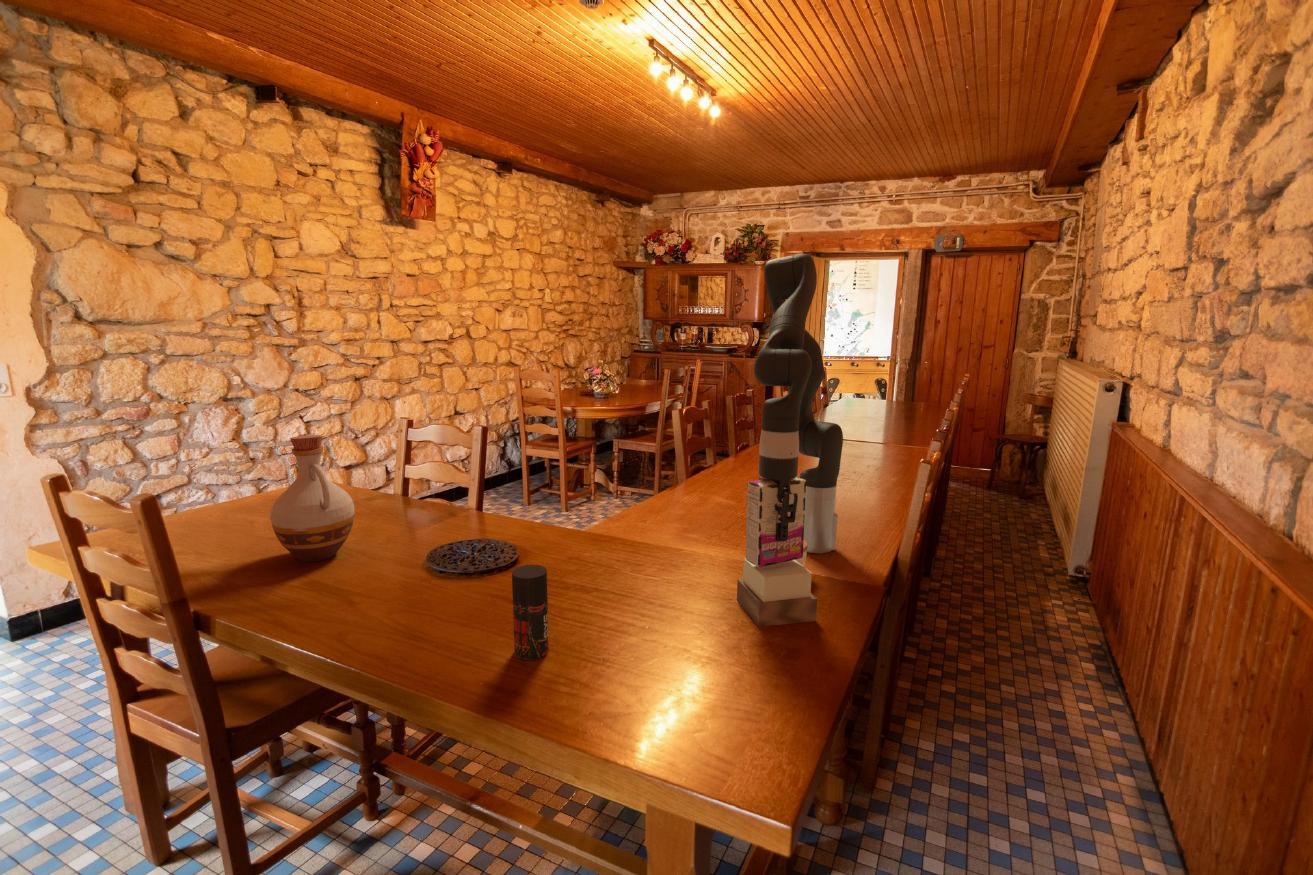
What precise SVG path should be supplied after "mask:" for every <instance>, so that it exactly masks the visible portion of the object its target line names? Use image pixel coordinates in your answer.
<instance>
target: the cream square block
mask: <svg viewBox="0 0 1313 875" xmlns="http://www.w3.org/2000/svg"><path fill="white" fill-rule="evenodd" d="M812 575H813V572H812V571H810V570H809V569H808V568H807V567H805V565H804V566H802V565H801V564H800V563H799V562H797V561H796V560H791V561H787V562H782V563H778V564H773V565H769V566H764V567H758V566H756V565H754V564H752V563H751V562H749V561H747V560H746V557H743V570H742V579H743V582H744V583H745V584H746V585H747V586H748V587H749V588H750V589H751V590H752V591H753V592H754V593H755V594H756V595H757V596H758V597H759V598H760V599H761V600H762V601H763V602H769V601H777V600H786V599H795V598H804V597H810V594H812V592H811V589H812V577H813V576H812Z"/></svg>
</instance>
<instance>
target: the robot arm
mask: <svg viewBox="0 0 1313 875" xmlns="http://www.w3.org/2000/svg"><path fill="white" fill-rule="evenodd" d="M763 268H764V269H763V277H764V278H763V279H764V283H765V288H766V293H767V296H768V299H769V303H770V307H771V311H772V318H771V320H770V323H769V329H768V337H767V339H766V341H765V342H764V344H763V346H762V347H761V348H760V350H759V352H758V354H757V355H756V358H755V360H754V364H753V374H754V377H755V379H756V381H757V382H758V383H759V384H760V385H763V386H767V387H787V389H788V394H786V395H784V396H779V397H774V398H769V399H768V398H767V399H766V400H764V402H763V404H762V410H761V411H762V412H761V431H760V438H759V447H758V449H759V450H758V473H757V474H758V476H760V477H758V479H757V480H762V479H770V480H772V481H774V482H775V483H777V484H778V495H777V498H778V501H779V502H780V503H782V507H779V506H777V503H776V504H775V505H774V510H775V511H776V521H777V522H776V540H777V541H778V542H782V541H787V539H788V523H792V522H795V515H796V508H797V500H798V495H797V493H791V489H790V481H791V480H792V479H795V478H796V477H798V474H799V473H798V472H799V455H803V456H808V457H811V458H812V457H813V458H817V459H818V464H817V466H816V467H812V468H807V469H804V470H801V472H800V474H799V478H801V479H804V480H806V493H805V515H804V540H805V541H806V542H807V543H808V548H807V553H810V554H827V553H830V552H832V551H836V549H837V534H838V533H837V532H838V523H839V519H838V518H839V516H838V513H836V499H837V485H838V477H839V474H840V471H841V470H840V469H841V462H842V461H841V460H842V454H843V453H842V452H843V444H844V434H843V430H842V427H841V426H840V425H839V424H838V423H834V422H828V421H823V420H822V421H821V420H815V417H814V413H813V402H814V399H815V397H816V394H817V393H818V391H819V389H820V387H821V385H822V383H823V380H824V377H825V366H824V359H823V355H822V353H823V352H822V349H821V346H820V344H819V343H818V342H817V340H816V339H815V337H814V336H813V335H811V333H810V332H809V331H808V330H807V329H806V322H807V317H808V314H809V312H810V309H811V306H812V303H813V300H814V297H815V293H816V291H817V290H816V289H817V284H818V283H817V282H818V281H817V280H818V277H817V276H818V275H817V274H818V273H817V267H816V265H815V261H814V258H813V256H811V255H810V254H808V253H798V254H793V255H788V256H783V257H778V258H774V259H773V258H772V259H770V260H767V261H766V263H765V264H764V267H763ZM780 511H781V515H780ZM790 512H791V514H790Z"/></svg>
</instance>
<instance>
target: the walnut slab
mask: <svg viewBox="0 0 1313 875" xmlns="http://www.w3.org/2000/svg"><path fill="white" fill-rule="evenodd" d="M736 582H737V587H736V600H737V602H738V603H739V604H740V606H741V607H742V608H743V609H744V611H745V612H746V613H747V614H748V616H749V617H750V618H751V619H752V620H753V621H754V623H755V624H756V625H757V626H758V627H769V626H778V625H779V626H780V625H788V624H789V625H790V624H800V623H808V622H816V621H817V609H818V608H817V607H818V606H817V604H818V597H816V596H815V595H814V594H813V593H811V594H810V597H804V598H795V599H786V600H777V601H769V602H763V601H762V600H761V599H760V598H759V597H758V596H757V595H756V594H755V593H754V592H753V591H752V590H751V589H750V588H749V587H748V586H747V585H746V584H745V583H744V582H743V578H737V581H736Z"/></svg>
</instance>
